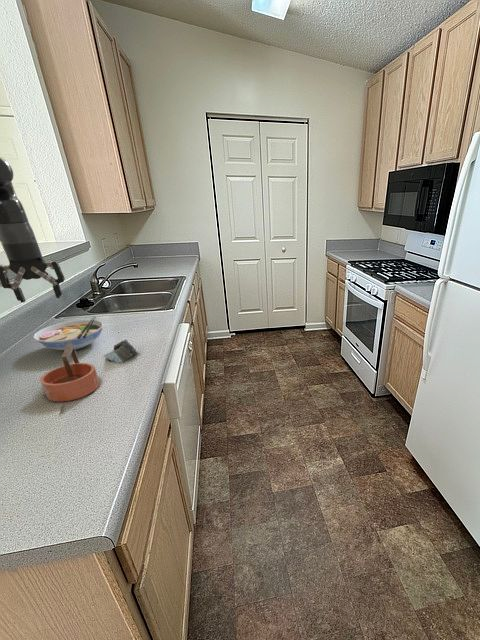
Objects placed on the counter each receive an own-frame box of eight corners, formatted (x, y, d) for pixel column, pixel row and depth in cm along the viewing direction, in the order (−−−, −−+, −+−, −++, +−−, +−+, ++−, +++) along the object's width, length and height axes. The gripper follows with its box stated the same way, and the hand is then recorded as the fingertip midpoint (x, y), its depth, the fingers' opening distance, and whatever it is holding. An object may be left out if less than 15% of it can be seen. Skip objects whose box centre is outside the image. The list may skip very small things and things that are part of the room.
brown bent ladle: (82, 390, 99) (71, 359, 95) (63, 394, 97) (51, 363, 93) (87, 367, 114) (78, 340, 110) (71, 370, 113) (61, 342, 108)
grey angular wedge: (98, 359, 120) (101, 345, 111) (113, 347, 125) (117, 332, 116) (121, 376, 122) (125, 363, 113) (134, 363, 127) (140, 350, 118)
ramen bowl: (52, 339, 138) (45, 320, 134) (113, 332, 144) (108, 314, 140) (29, 365, 116) (20, 344, 113) (101, 355, 122) (95, 335, 119)
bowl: (43, 408, 92) (35, 389, 90) (51, 385, 103) (44, 368, 101) (99, 395, 98) (92, 378, 95) (100, 375, 109) (95, 359, 106)
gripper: (52, 237, 95) (71, 293, 102) (-10, 241, 89) (14, 300, 96) (48, 240, 89) (68, 299, 96) (-20, 244, 83) (7, 306, 90)
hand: (41, 299), depth 96 cm, fingers open, 8 cm apart
